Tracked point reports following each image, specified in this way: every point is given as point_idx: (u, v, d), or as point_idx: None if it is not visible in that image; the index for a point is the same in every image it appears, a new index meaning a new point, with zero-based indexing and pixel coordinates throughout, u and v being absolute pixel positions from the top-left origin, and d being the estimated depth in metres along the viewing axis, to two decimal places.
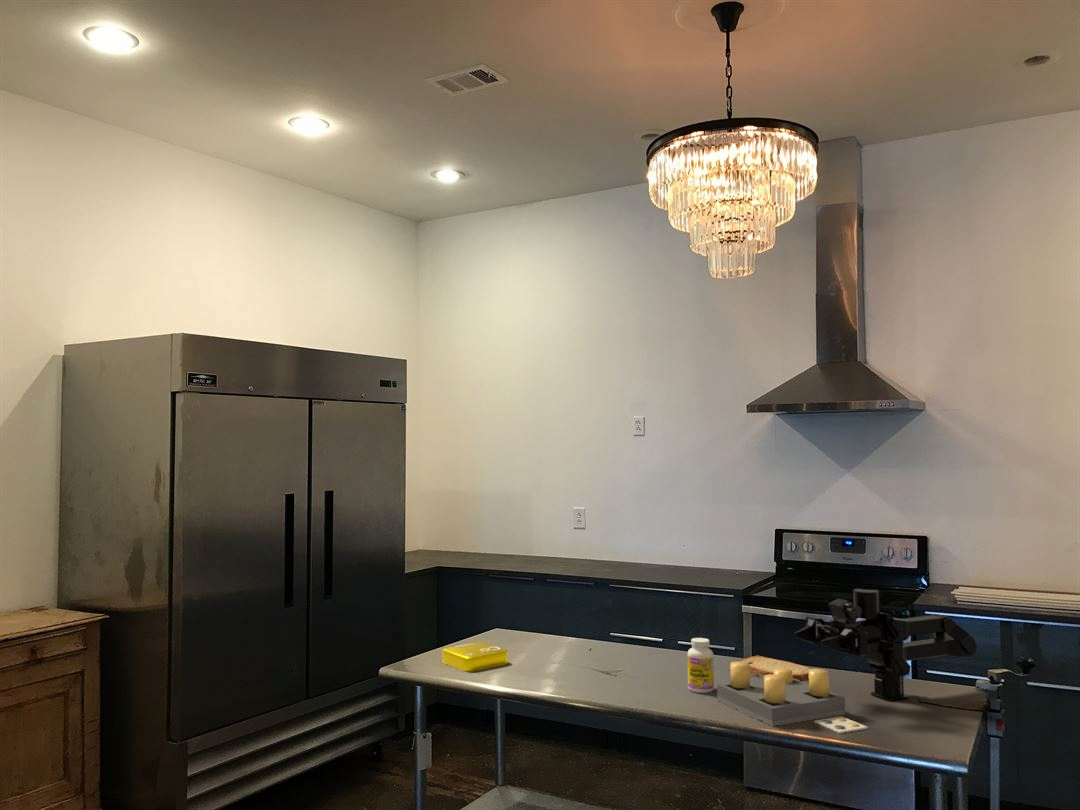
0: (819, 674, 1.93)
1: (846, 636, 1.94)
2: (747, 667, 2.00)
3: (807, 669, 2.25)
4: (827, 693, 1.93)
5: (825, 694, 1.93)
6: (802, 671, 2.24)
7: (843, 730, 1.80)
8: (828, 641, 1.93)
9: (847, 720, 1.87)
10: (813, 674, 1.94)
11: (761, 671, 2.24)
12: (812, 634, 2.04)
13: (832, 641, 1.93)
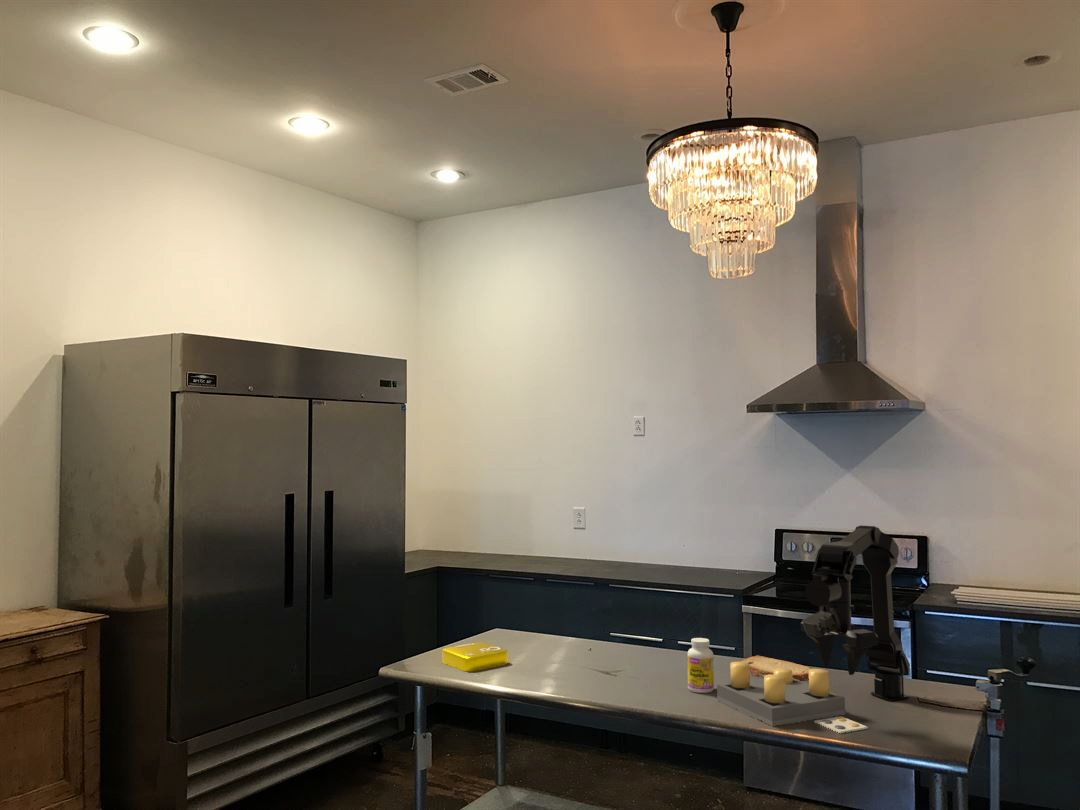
0: (819, 674, 1.93)
1: (852, 650, 1.80)
2: (747, 667, 2.00)
3: (807, 669, 2.25)
4: (827, 693, 1.93)
5: (825, 694, 1.93)
6: (802, 671, 2.24)
7: (843, 730, 1.80)
8: (852, 668, 1.81)
9: (847, 720, 1.87)
10: (813, 674, 1.94)
11: (761, 671, 2.25)
12: (826, 640, 1.90)
13: (853, 663, 1.81)
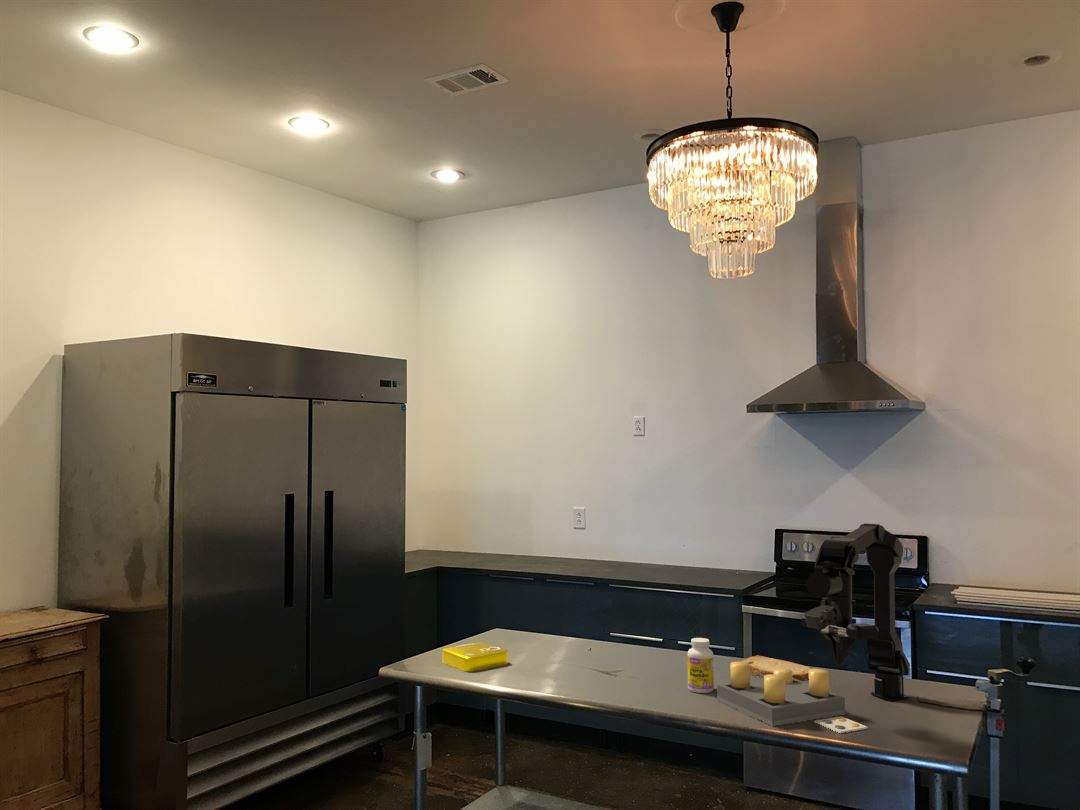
0: (819, 674, 1.93)
1: (841, 640, 1.86)
2: (747, 667, 2.00)
3: (808, 669, 2.25)
4: (827, 693, 1.93)
5: (825, 694, 1.93)
6: (803, 671, 2.25)
7: (843, 730, 1.80)
8: (840, 658, 1.87)
9: (847, 720, 1.87)
10: (813, 674, 1.94)
11: (762, 671, 2.25)
12: None
13: (841, 653, 1.87)
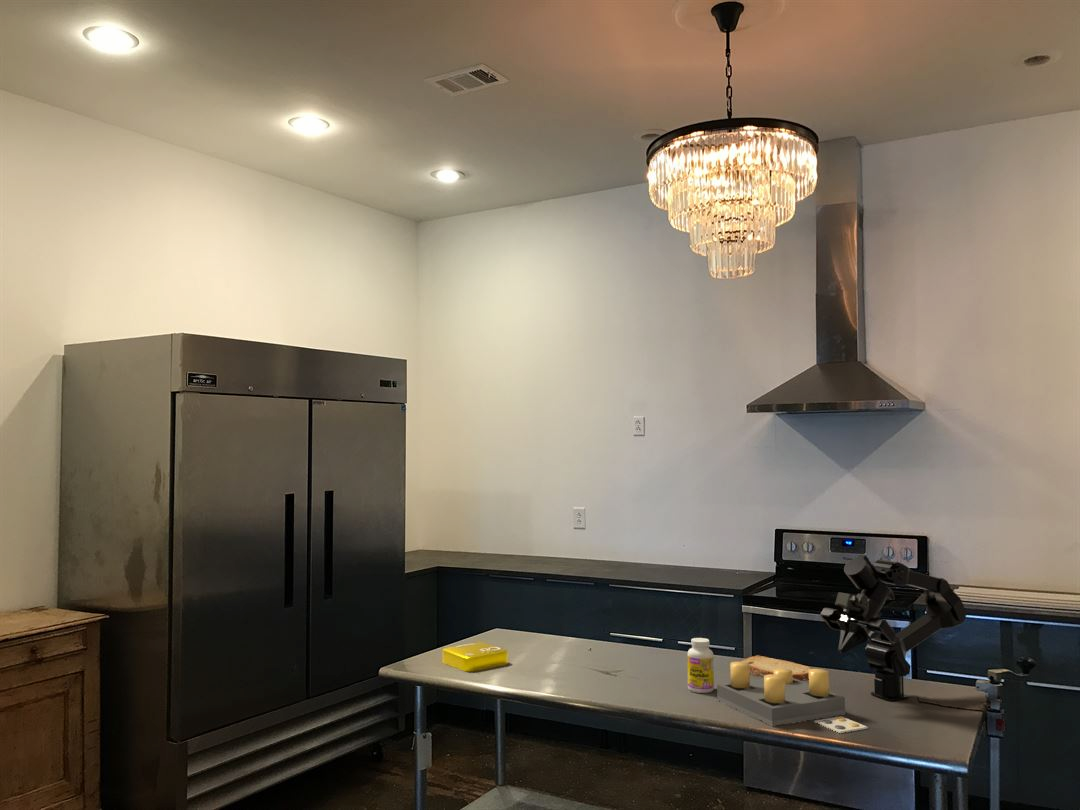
0: (819, 674, 1.93)
1: (856, 631, 1.99)
2: (747, 667, 2.00)
3: (808, 669, 2.25)
4: (827, 693, 1.93)
5: (825, 694, 1.93)
6: (803, 671, 2.25)
7: (843, 730, 1.80)
8: (845, 646, 1.99)
9: (847, 720, 1.87)
10: (813, 674, 1.94)
11: (762, 671, 2.25)
12: None
13: (848, 643, 1.99)
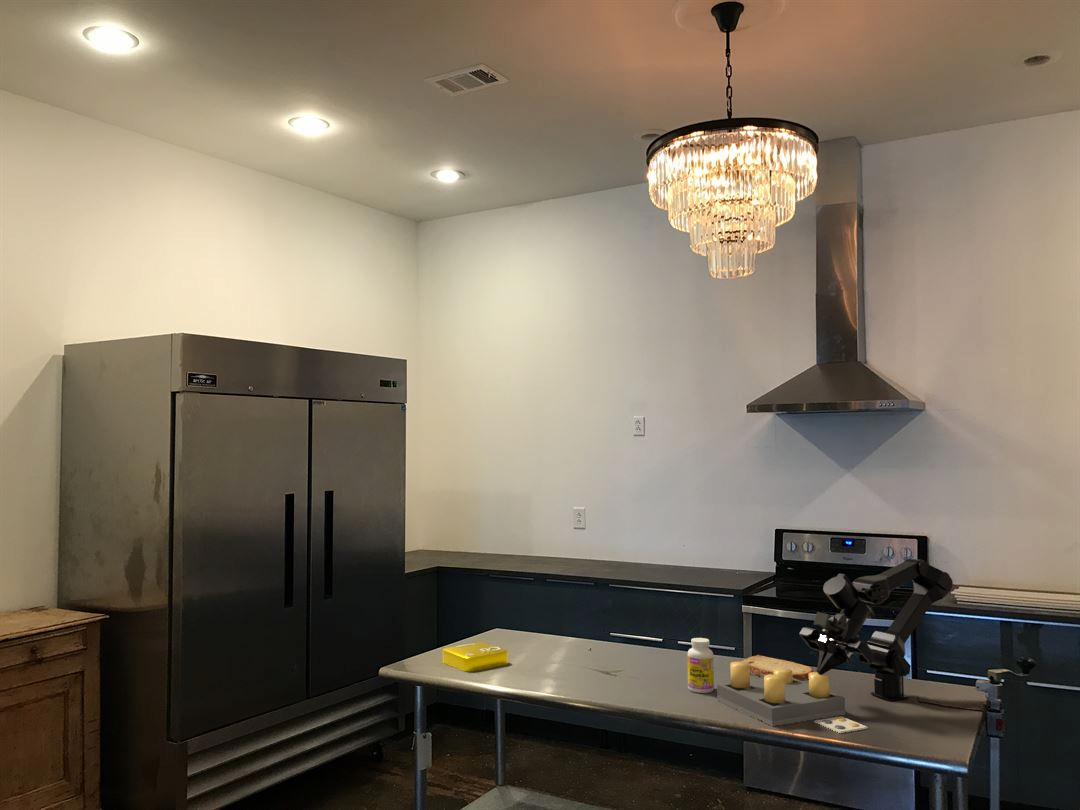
0: (819, 678, 1.93)
1: (834, 652, 1.95)
2: (747, 667, 2.00)
3: (808, 668, 2.26)
4: (827, 697, 1.93)
5: None
6: (803, 670, 2.25)
7: (843, 730, 1.80)
8: (824, 668, 1.95)
9: (847, 720, 1.87)
10: (813, 677, 1.93)
11: (762, 670, 2.25)
12: None
13: (827, 664, 1.95)
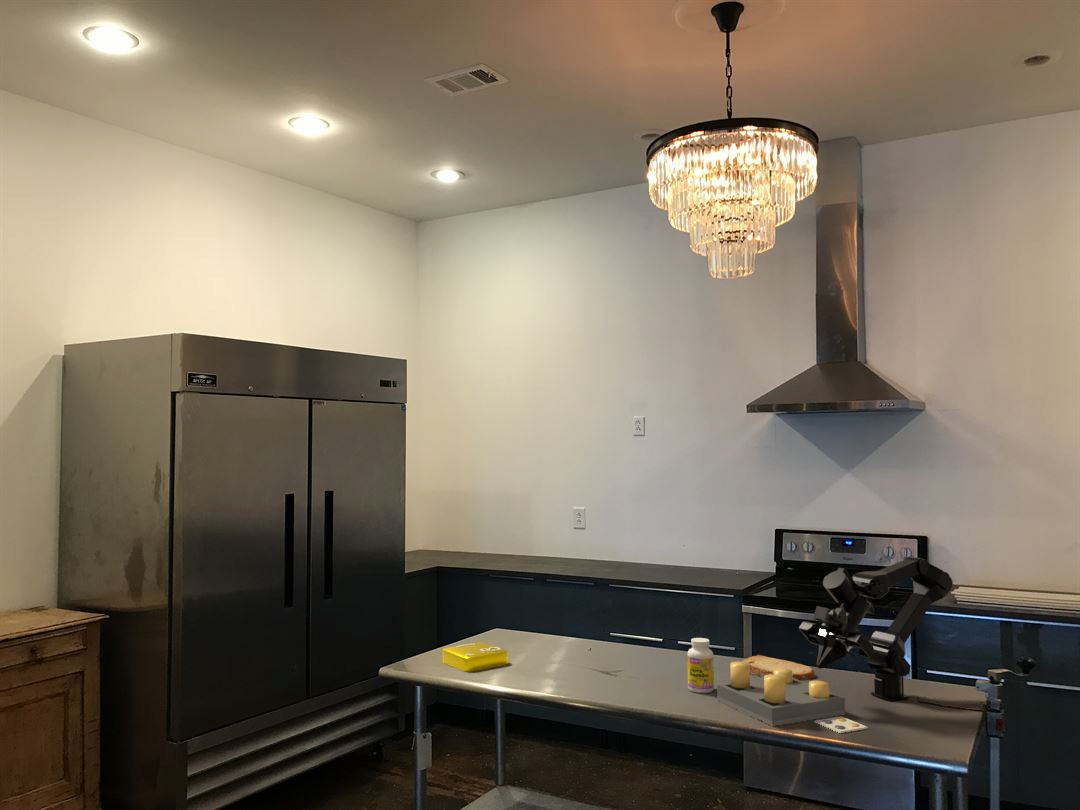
0: (819, 686, 1.93)
1: (834, 646, 1.95)
2: (747, 667, 2.00)
3: (808, 668, 2.26)
4: None
5: None
6: (803, 670, 2.25)
7: (843, 730, 1.80)
8: (823, 662, 1.95)
9: (847, 720, 1.87)
10: (813, 686, 1.93)
11: (762, 670, 2.25)
12: None
13: (826, 658, 1.95)
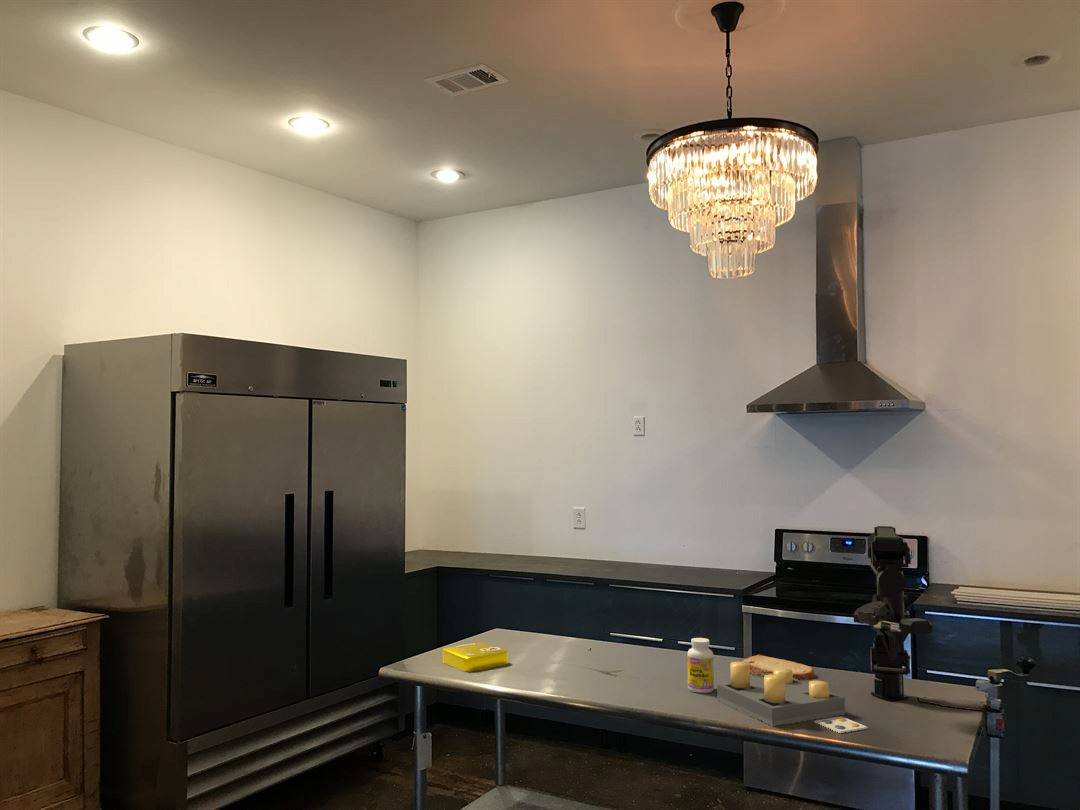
0: (819, 686, 1.93)
1: (894, 635, 1.88)
2: (747, 667, 2.00)
3: (808, 668, 2.26)
4: None
5: None
6: (804, 670, 2.25)
7: (843, 730, 1.80)
8: (893, 653, 1.89)
9: (847, 720, 1.87)
10: (813, 686, 1.93)
11: (763, 670, 2.25)
12: None
13: (894, 648, 1.89)
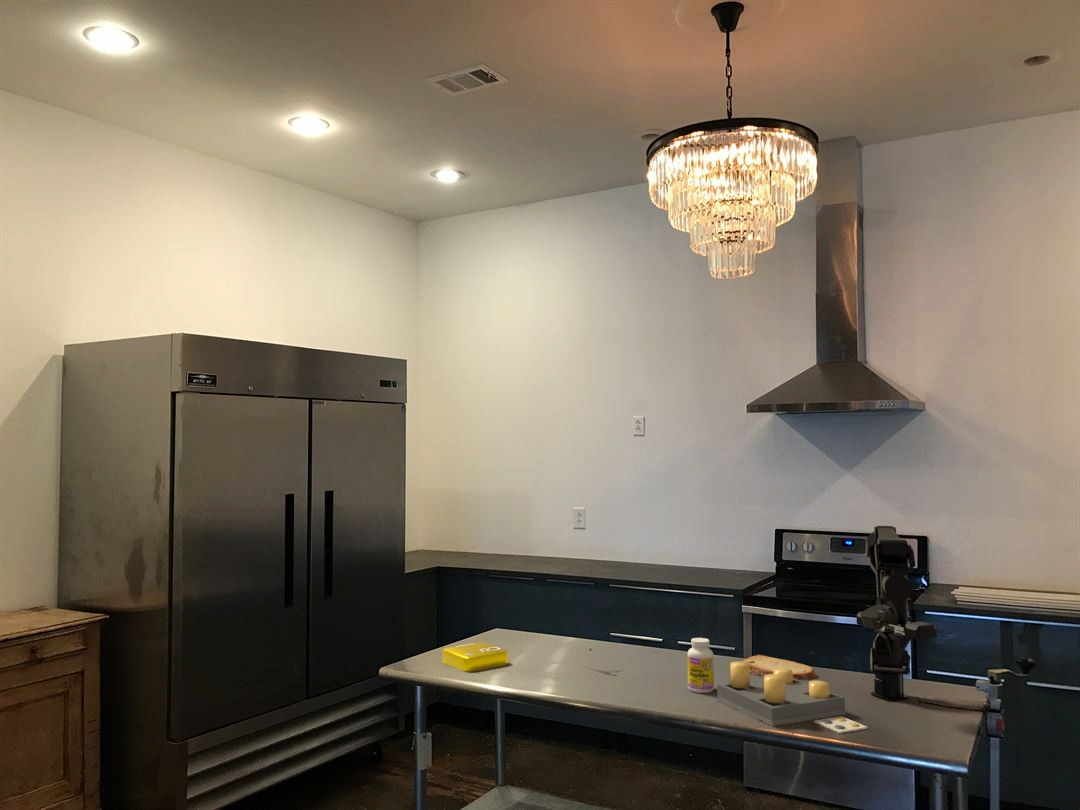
0: (819, 686, 1.93)
1: (898, 639, 1.87)
2: (747, 667, 2.00)
3: (809, 668, 2.26)
4: None
5: None
6: (804, 670, 2.25)
7: (843, 730, 1.80)
8: (897, 656, 1.89)
9: (847, 720, 1.87)
10: (813, 686, 1.93)
11: (763, 670, 2.25)
12: None
13: (898, 651, 1.89)
